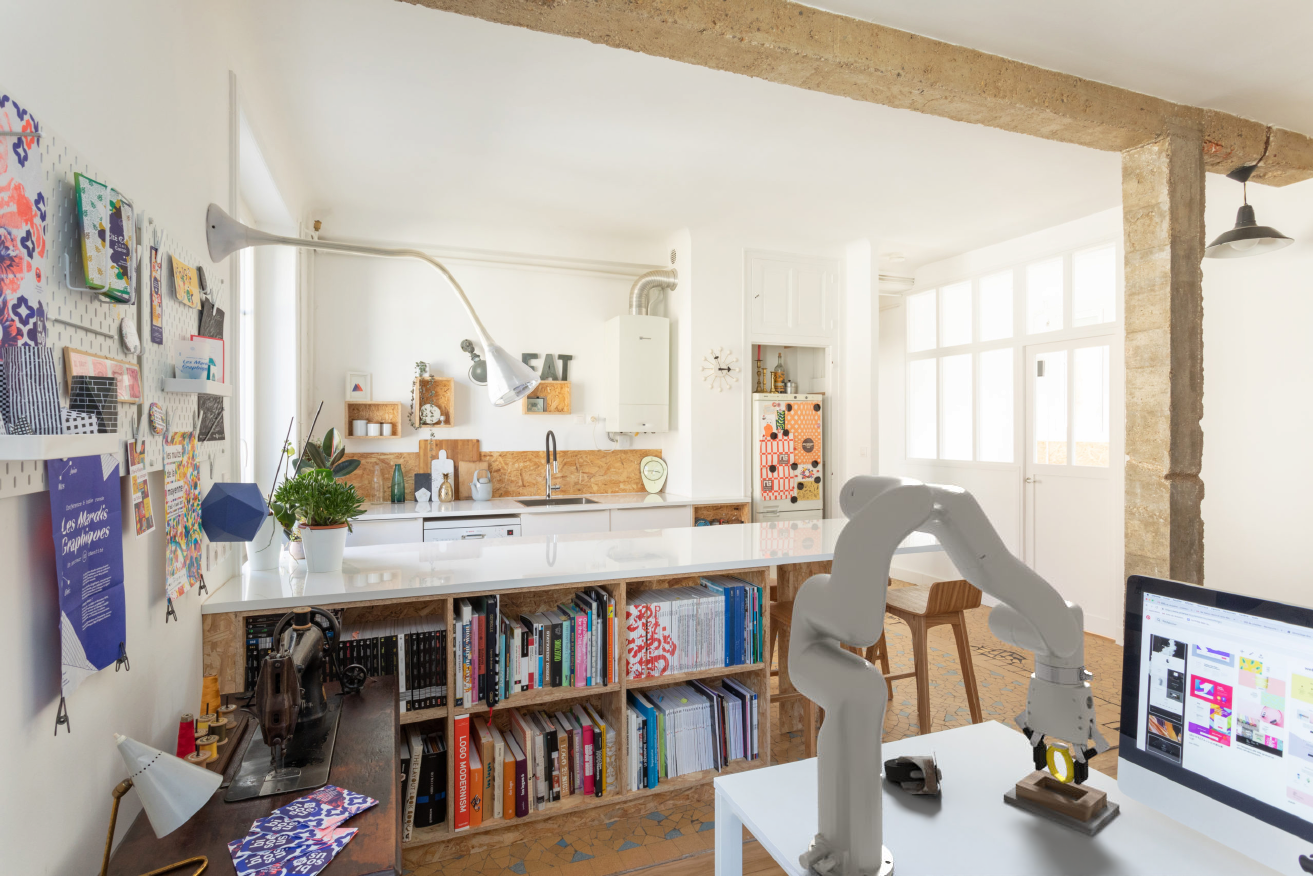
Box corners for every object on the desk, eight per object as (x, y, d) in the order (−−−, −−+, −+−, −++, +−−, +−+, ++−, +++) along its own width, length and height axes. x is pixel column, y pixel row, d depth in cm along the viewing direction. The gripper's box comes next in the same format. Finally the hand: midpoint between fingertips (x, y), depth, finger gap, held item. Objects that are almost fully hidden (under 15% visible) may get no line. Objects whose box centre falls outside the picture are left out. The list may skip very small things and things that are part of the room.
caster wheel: (888, 783, 133) (943, 783, 130) (886, 799, 123) (945, 799, 120) (882, 746, 135) (936, 745, 132) (880, 759, 125) (938, 758, 122)
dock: (1091, 836, 111) (1091, 817, 111) (1003, 800, 122) (1003, 783, 122) (1119, 810, 118) (1119, 793, 118) (1034, 779, 129) (1034, 763, 129)
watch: (1042, 773, 123) (1040, 739, 123) (1057, 772, 123) (1055, 738, 123) (1064, 788, 117) (1062, 752, 117) (1080, 787, 117) (1078, 751, 117)
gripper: (1123, 680, 115) (1124, 787, 116) (1018, 655, 129) (1019, 751, 129) (1106, 691, 111) (1107, 802, 111) (999, 664, 125) (1000, 763, 125)
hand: (1060, 774), depth 120 cm, fingers closed on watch, 5 cm apart
